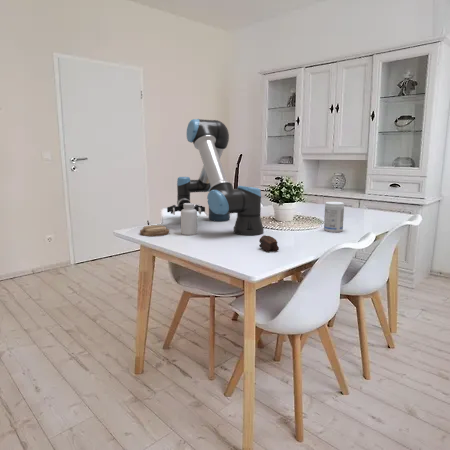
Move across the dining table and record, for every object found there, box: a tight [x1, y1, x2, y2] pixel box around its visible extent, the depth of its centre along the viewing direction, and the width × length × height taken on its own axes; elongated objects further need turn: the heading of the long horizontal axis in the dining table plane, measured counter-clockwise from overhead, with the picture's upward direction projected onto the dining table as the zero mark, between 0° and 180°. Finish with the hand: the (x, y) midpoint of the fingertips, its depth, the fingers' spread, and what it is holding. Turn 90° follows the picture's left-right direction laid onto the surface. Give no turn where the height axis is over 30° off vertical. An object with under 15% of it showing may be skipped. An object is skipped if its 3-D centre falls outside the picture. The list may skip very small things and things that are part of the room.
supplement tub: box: [323, 201, 345, 233], centre depth 192 cm, size 10×10×15 cm
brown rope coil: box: [139, 224, 170, 237], centre depth 183 cm, size 14×14×3 cm
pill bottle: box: [180, 202, 198, 236], centre depth 182 cm, size 8×8×15 cm
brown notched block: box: [258, 234, 279, 252], centre depth 154 cm, size 6×7×10 cm
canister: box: [208, 207, 231, 222], centre depth 221 cm, size 13×13×18 cm
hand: (187, 211), depth 191 cm, fingers open, 13 cm apart
